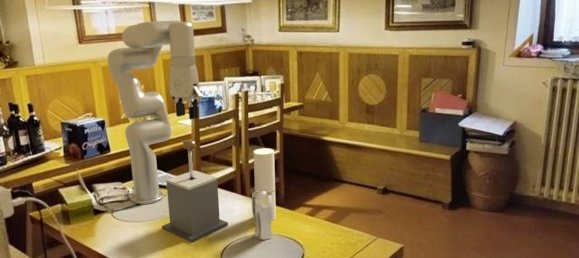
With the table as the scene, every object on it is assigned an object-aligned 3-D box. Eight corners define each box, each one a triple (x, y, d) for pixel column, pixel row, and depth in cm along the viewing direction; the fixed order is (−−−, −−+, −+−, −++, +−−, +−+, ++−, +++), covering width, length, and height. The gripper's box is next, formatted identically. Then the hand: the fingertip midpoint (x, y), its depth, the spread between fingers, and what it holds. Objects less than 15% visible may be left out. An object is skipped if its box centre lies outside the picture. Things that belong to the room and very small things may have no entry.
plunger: (173, 190, 161) (169, 142, 157) (194, 182, 168) (191, 136, 164) (190, 196, 156) (186, 147, 151) (211, 188, 162) (208, 140, 158)
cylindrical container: (276, 213, 175) (275, 148, 169) (274, 222, 168) (272, 154, 162) (257, 213, 176) (255, 148, 170) (254, 221, 169) (251, 154, 163)
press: (162, 229, 164) (157, 180, 160) (200, 212, 177) (197, 166, 173) (191, 242, 155) (187, 191, 150) (230, 224, 167) (228, 176, 163)
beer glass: (258, 242, 154) (256, 199, 150) (249, 233, 160) (248, 192, 156) (277, 237, 157) (276, 195, 153) (268, 229, 163) (267, 188, 159)
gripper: (157, 61, 154) (161, 115, 158) (191, 64, 143) (195, 123, 147) (176, 59, 159) (180, 111, 164) (210, 62, 148) (213, 118, 153)
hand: (187, 116), depth 156 cm, fingers open, 5 cm apart
